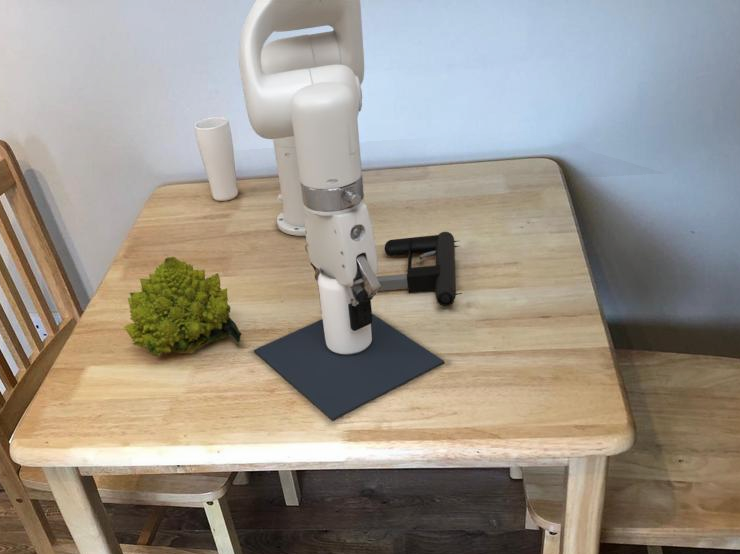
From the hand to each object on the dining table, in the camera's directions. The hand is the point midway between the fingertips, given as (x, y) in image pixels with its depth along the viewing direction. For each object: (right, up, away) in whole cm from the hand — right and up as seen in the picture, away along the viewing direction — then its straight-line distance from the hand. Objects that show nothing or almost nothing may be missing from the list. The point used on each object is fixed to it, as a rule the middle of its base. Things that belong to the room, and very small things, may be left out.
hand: (346, 314), depth 103 cm
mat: (0, -6, +1) cm, 6 cm away
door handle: (+11, +7, +16) cm, 21 cm away
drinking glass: (-23, +28, +51) cm, 62 cm away
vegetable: (-23, -3, +9) cm, 25 cm away
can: (+1, -4, +3) cm, 5 cm away
